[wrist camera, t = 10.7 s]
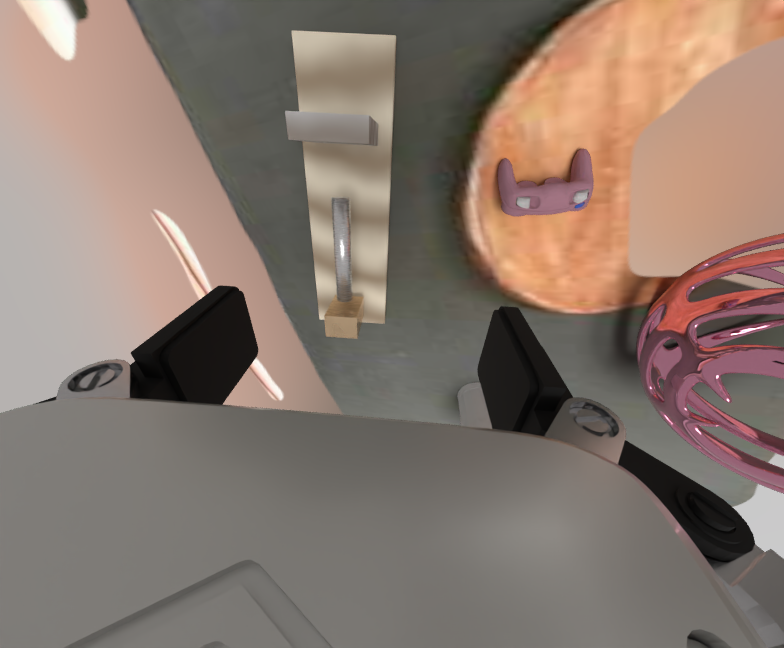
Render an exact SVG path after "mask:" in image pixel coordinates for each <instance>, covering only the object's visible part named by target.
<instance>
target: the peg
mask: <svg viewBox="0 0 784 648" xmlns="http://www.w3.org/2000/svg"><path fill="white" fill-rule="evenodd" d="M331 204H332V221H333V238H334V255H335V272H336V290H337V295H335V296H334V298H333V300H332V302H331V304H330V306H329V308H328V310H327V312H326V313H325V315H324V319H325V331H326V337H341V338H356V339H357V338H358V334H359V331H360V327H361V323H362V320H363V316H364V297H359V296H353V289H352V251H351V214H350V198H349V197H331Z"/></svg>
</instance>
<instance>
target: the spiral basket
mask: <svg viewBox="0 0 784 648" xmlns="http://www.w3.org/2000/svg"><path fill="white" fill-rule="evenodd" d="M780 243H784V233H783V234H778V235H773V236H769V237H765V238H762V239H758V240H755V241H752V242H748V243H745V244H742V245H739V246H737V247H734V248H731V249H729V250H726V251H724V252H721V253H719V254H717V255H715V256H713V257H711V258H709V259H707V260H705V261H703V262H701V263H700V264H698V265H696V266H694V267H693V268H691V269H690V270H688V271H687V272H685V273H684V274H683V275H681V276H680V277H679V278H678V279H677V280H676V281H675V282H674V283H673V284H672V285H671V286H670V287H669V288H668V289H667V290H666V291H665V293H664V294H663V295H662V296H661V297H660V298H659V299H658V300H657V301H656V302H655V303H654V304H653V306H652V307H651V308H650V309H649V311H648V312H647V314H646V316H645V317H644V319H643V321H642V323H641V326H640V329H639V332H638V336H637V342H636V356H637V362H638V367H639V372H640V378H641V382H642V386H643V389H644V391H645V394H646V396H647V397H648V399H649V401H650V402H651V404H652V405H653V407H654V408H655V410H656V411H657V412H658V414H659V415H660V416H661V418H662V419H663V420H664V421H665V422H666V423H667V424H668V425H669V426H670V427H671V428H672V429H673V430H674V431H675V432H676V433H677V434H678V435H679V436H680V437H681V438H683V439H684V440H685V441H686V442H687V443H689V444H690V445H691V446H693V447H694V448H695V449H697V450H698V451H700V452H701V453H702V454H704V455H705V456H707V457H709V458H710V459H712V460H713V461H715V462H717V463H718V464H720V465H722V466H723V467H725V468H727V469H729V470H731V471H733V472H735V473H736V474H738V475H740V476H743V477H745V478H747V479H749V480H751V481H753V482H755V483H758V484H760V485H762V486H765V487H767V488H770V489H772V490H775V491H777V492H781V493H783V494H784V469H783V468H780V467H778V466H775V465H772V464H770V463H767V462H765V461H763V460H760V459H758V458H756V457H753V456H751V455H749V454H747V453H745V452H743V451H741V450H739V449H737V448H735V447H733V446H731V445H729V444H727V443H725V442H724V441H722V440H720V439H719V438H717V437H715V436H714V435H712V434H710V433H709V432H707V431H706V430H704V429H703V428H701V427H700V426H699V425H701V426H708V427H717V426H720V427H722V428H723V429H725V430H727V431H729V432H730V433H732V434H734V435H736V436H738V437H740V438H742V439H744V440H746V441H748V442H750V443H753V444H755V445H757V446H759V447H762V448H764V449H767V450H769V451H772V452H774V453H777V454H780V455H782V456H784V439H781V438H778V437H775V436H773V435H770V434H768V433H765V432H763V431H760V430H758V429H756V428H754V427H751V426H749V425H747V424H745V423H743V422H741V421H739V420H737V419H735V418H733V417H732V416H730V415H728V414H726V413H725V412H723V411H721V410H720V409H718V408H717V407H715V406H714V405H712V404H711V403H709V402H708V401H707V400H705V399H704V398H703V397H701V396H700V395H699V394H698V393H697V392H695V391H694V390H693V389H692V387H693V386H694V385H696V384H697V383H698V382H703V383H705V384H706V385H707V386H709V387H710V388H711V389H712V390H713V391H714V392H715V393H716V394H717V395H719V396H720V397H721V398H722V399H723V400H725V401H726V402H728V403H731V402H732V399H731V396H730V395H729V393H728V391H727V390H726V388H725V386H724V384H723V382H722V380H721V375H723V374H727V373H752V374H761V375H767V376H773V377H777V378H782V379H784V347H777V346H767V345H727V346H719V347H713V346H716V345H718V344H721V343H724V342H727V341H729V340H732V339H735V338H738V337H741V336H745V335H748V334H751V333H755V332H758V331H762V330H765V329H769V328H773V327H777V326H781V325H784V318H782V319H775V320H769V321H763V322H758V323H752V324H747V325H743V326H738V327H734V328H729V329H725V330H721V331H718V332H714V333H710V334H707V335H704V336H701V337H698V338H697V336H696V329H697V327H698V326H699V325H700V324H702V323H704V322H706V321H709V320H713V319H718V318H724V317H730V316H739V315H753V314H780V315H784V288H768V289H755V290H746V291H739V292H733V293H728V294H723V295H719V296H715V297H711V298H708V299H704V300H701V301H696V302H690V301H689V295H690V293H691V292H692V291H693V290H694V289H695V288H697V287H698V286H700V285H702V284H704V283H706V282H709V281H712V280H714V279H718V278H721V277H724V276H728V275H731V274H735V273H737V274H743V275H749V276H753V277H757V278H761V279H765V280H768V281H772V282H775V283H778V284H781V285H784V274H783V273H781V272H778V271H776V270H774V269H771V268H770V267H779V266H784V248H783V249H776V250H770V251H765V252H760V253H755V254H750V255H746V256H742V257H738V258H735V259H728V258H730V257H733V256H736V255H738V254H741V253H744V252H748V251H751V250H754V249H758V248H762V247H766V246H771V245H775V244H780ZM665 311H666V313H665ZM664 314H665V316H664ZM663 317H664V318H663ZM648 329H649V331H648ZM647 332H648V337H647V339H646V336H647ZM669 339H675V340H676V342H677V343H678V345H677V346H675V347H673V348H670V349H667V348H665V346H664V343H665V342H666V341H668V340H669ZM711 347H713V348H711ZM660 378H662V379H663V380H665V382H664V387H663V391H662V390H661V388H660V385H659V379H660ZM687 404H689V405H690V406H691V407H692V408H693V409H695V410H696V411H697V412H699V413H700V414H701V415H703V416H704V417H706V418H704V417H702V416H699V415H697V414H695V413H693V412H691V411H690V410H689V409H688V407H687Z"/></svg>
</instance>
